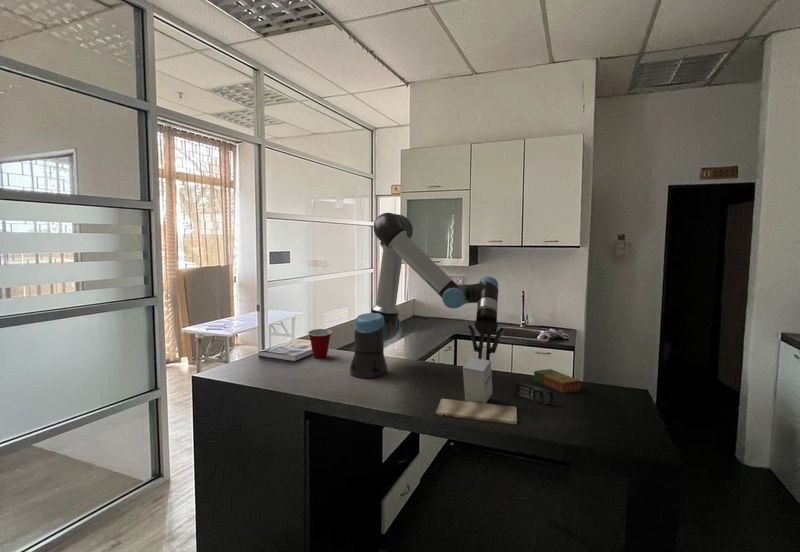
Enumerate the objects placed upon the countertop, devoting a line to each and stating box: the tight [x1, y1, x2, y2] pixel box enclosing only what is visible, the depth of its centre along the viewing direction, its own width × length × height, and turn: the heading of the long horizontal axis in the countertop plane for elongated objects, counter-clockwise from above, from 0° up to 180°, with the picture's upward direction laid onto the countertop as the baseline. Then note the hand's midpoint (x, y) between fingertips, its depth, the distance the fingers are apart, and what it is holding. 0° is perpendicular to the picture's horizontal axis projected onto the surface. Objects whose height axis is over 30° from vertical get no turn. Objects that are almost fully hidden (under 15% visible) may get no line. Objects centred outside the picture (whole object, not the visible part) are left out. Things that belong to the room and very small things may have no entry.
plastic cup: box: [307, 328, 333, 359], centre depth 192 cm, size 11×11×12 cm
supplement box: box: [462, 357, 493, 404], centre depth 140 cm, size 7×7×13 cm
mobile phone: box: [515, 382, 558, 407], centre depth 143 cm, size 5×3×15 cm
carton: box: [533, 368, 582, 394], centre depth 159 cm, size 8×16×4 cm, turn 21°
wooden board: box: [435, 398, 518, 425], centre depth 131 cm, size 24×12×1 cm, turn 75°
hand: (483, 369), depth 143 cm, fingers closed
